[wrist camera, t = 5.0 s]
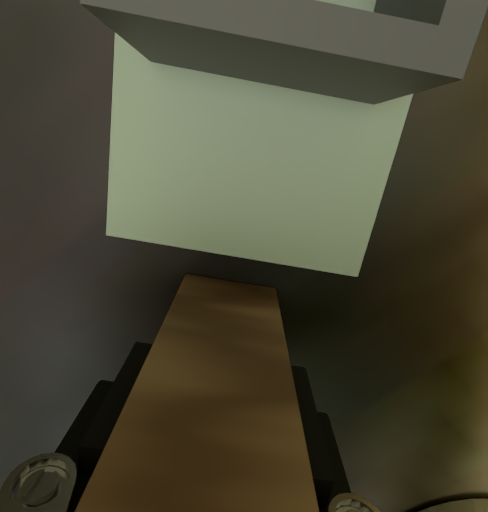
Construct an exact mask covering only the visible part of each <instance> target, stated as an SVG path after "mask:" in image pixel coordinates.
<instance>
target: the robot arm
mask: <svg viewBox="0 0 488 512" xmlns="http://www.w3.org/2000/svg"><path fill="white" fill-rule="evenodd" d="M152 345H153V344H147V343H141V342H136V343H135V345H134V347H133V348H132V350H131V352H130V354H129V356H128V357H127V359H126V361H125V363H124V365H123V366H122V368H121V370H120V372H119V374H118V375H117V377H116V379H115V381H114V382H111V381H105V380H101V381H99V382H98V384H97V385H96V386H95V388H94V390H93V391H92V393H91V395H90V396H89V398H88V399H87V401H86V403H85V404H84V406H83V407H82V409H81V411H80V412H79V414H78V416H77V417H76V419H75V420H74V422H73V424H72V425H71V427H70V428H69V430H68V432H67V433H66V435H65V436H64V438H63V440H62V441H61V443H60V445H59V446H58V448H57V449H56V451H55V453H45V454H40V455H37V456H35V457H32V458H30V459H28V460H26V461H25V462H23V463H21V464H20V465H19V466H17V467H16V468H15V469H14V470H13V471H12V472H11V473H10V474H9V476H8V477H7V479H6V480H5V482H4V483H3V485H2V487H1V489H0V512H75V510H76V508H77V506H78V504H79V502H80V499H81V497H82V495H83V493H84V491H85V489H86V487H87V484H88V482H89V480H90V478H91V476H92V474H93V472H94V469H95V467H96V465H97V463H98V461H99V459H100V457H101V454H102V452H103V450H104V448H105V446H106V444H107V442H108V439H109V437H110V435H111V433H112V431H113V429H114V427H115V424H116V422H117V420H118V418H119V416H120V414H121V412H122V409H123V407H124V405H125V403H126V401H127V399H128V397H129V394H130V392H131V390H132V388H133V386H134V384H135V382H136V379H137V377H138V375H139V373H140V371H141V369H142V367H143V364H144V362H145V360H146V358H147V356H148V354H149V352H150V349H151V347H152ZM291 370H292V375H293V380H294V385H295V390H296V395H297V400H298V405H299V411H300V416H301V421H302V426H303V431H304V436H305V441H306V446H307V452H308V457H309V462H310V467H311V472H312V477H313V482H314V488H315V493H316V498H317V503H318V508H319V512H380V511H379V510H378V509H377V508H376V507H375V506H374V505H373V504H372V503H371V502H369V501H368V500H366V499H365V498H363V497H361V496H359V495H356V494H352V493H351V491H350V487H349V484H348V481H347V477H346V474H345V471H344V467H343V464H342V460H341V457H340V454H339V450H338V447H337V443H336V440H335V437H334V433H333V430H332V427H331V423H330V420H329V417H328V415H327V414H326V413H321V412H317V410H316V406H315V403H314V399H313V395H312V391H311V387H310V383H309V379H308V375H307V371H306V369H305V368H304V367H297V366H291ZM418 512H488V498H483V499H464V500H457V501H450V502H446V503H442V504H439V505H435V506H431V507H428V508H425V509H423V510H421V511H418Z"/></svg>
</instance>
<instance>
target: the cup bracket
mask: <svg viewBox="0 0 488 512" xmlns="http://www.w3.org/2000/svg"><path fill="white" fill-rule="evenodd" d="M80 4H82V5H83V6H84V7H85V8H86V9H88V10H89V11H90V12H91V13H92V14H94V15H95V16H96V17H97V18H98V19H100V20H101V21H102V22H103V23H105V24H106V25H107V26H108V27H109V28H111V29H112V30H113V31H114V32H115V46H114V68H113V91H112V113H111V136H110V158H109V181H108V203H107V226H106V235H108V236H114V237H120V238H126V239H132V240H138V241H144V242H150V243H156V244H162V245H168V246H174V247H180V248H186V249H192V250H198V251H204V252H210V253H216V254H222V255H228V256H234V257H240V258H246V259H252V260H258V261H264V262H270V263H276V264H282V265H288V266H294V267H300V268H306V269H312V270H318V271H324V272H330V273H336V274H342V275H348V276H354V277H358V274H359V271H360V268H361V264H362V261H363V258H364V255H365V251H366V248H367V245H368V241H369V238H370V235H371V231H372V228H373V225H374V222H375V218H376V215H377V212H378V208H379V205H380V202H381V199H382V195H383V192H384V189H385V185H386V182H387V179H388V175H389V172H390V169H391V166H392V162H393V159H394V156H395V152H396V149H397V146H398V142H399V139H400V136H401V133H402V129H403V126H404V123H405V119H406V116H407V113H408V110H409V106H410V103H411V100H412V96H413V93H417V92H420V91H424V90H427V89H431V88H434V87H438V86H441V85H445V84H448V83H452V82H455V81H459V80H462V79H463V77H464V74H465V72H466V69H467V66H468V63H469V60H470V57H471V54H472V51H473V48H474V45H475V42H476V39H477V36H478V34H479V31H480V28H481V25H482V22H483V19H484V16H485V13H486V10H487V7H488V0H80Z"/></svg>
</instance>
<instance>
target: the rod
mask: <svg viewBox="0 0 488 512" xmlns="http://www.w3.org/2000/svg"><path fill="white" fill-rule="evenodd" d="M75 512H319V508H318V503H317V498H316V493H315V488H314V482H313V477H312V472H311V467H310V462H309V457H308V452H307V446H306V441H305V436H304V431H303V426H302V421H301V416H300V411H299V405H298V400H297V395H296V390H295V385H294V380H293V375H292V370H291V364H290V359H289V354H288V349H287V344H286V339H285V334H284V328H283V323H282V318H281V313H280V308H279V303H278V298H277V293H276V288H271V287H265V286H258V285H252V284H246V283H240V282H234V281H228V280H222V279H216V278H210V277H204V276H198V275H192V274H185V277H184V279H183V281H182V283H181V285H180V287H179V289H178V292H177V294H176V296H175V298H174V300H173V302H172V304H171V307H170V309H169V311H168V313H167V315H166V317H165V319H164V322H163V324H162V326H161V328H160V330H159V332H158V334H157V337H156V339H155V341H154V343H153V345H152V347H151V349H150V352H149V354H148V356H147V358H146V360H145V362H144V364H143V367H142V369H141V371H140V373H139V375H138V377H137V379H136V382H135V384H134V386H133V388H132V390H131V392H130V394H129V397H128V399H127V401H126V403H125V405H124V407H123V409H122V412H121V414H120V416H119V418H118V420H117V422H116V424H115V427H114V429H113V431H112V433H111V435H110V437H109V439H108V442H107V444H106V446H105V448H104V450H103V452H102V454H101V457H100V459H99V461H98V463H97V465H96V467H95V469H94V472H93V474H92V476H91V478H90V480H89V482H88V484H87V487H86V489H85V491H84V493H83V495H82V497H81V499H80V502H79V504H78V506H77V508H76V510H75Z"/></svg>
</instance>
